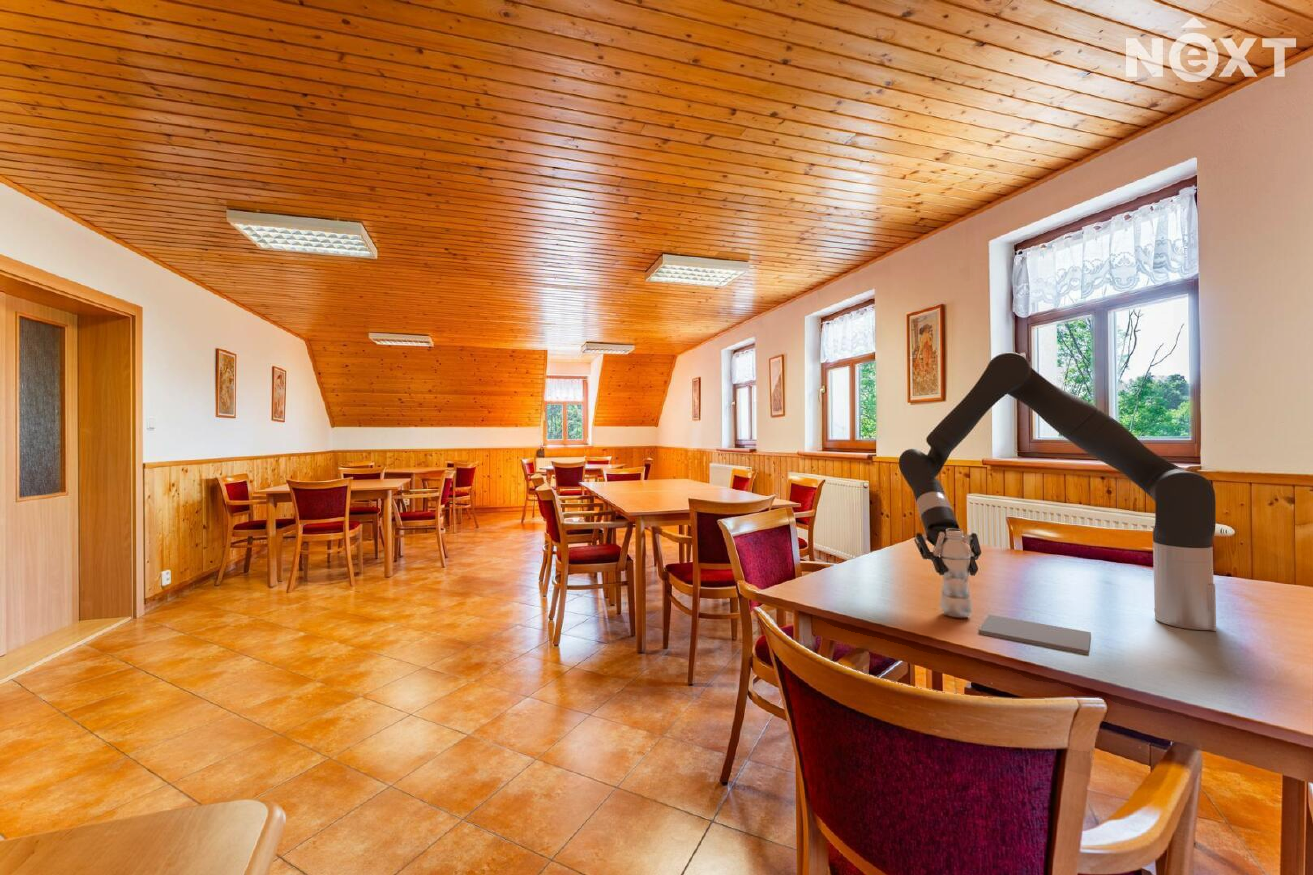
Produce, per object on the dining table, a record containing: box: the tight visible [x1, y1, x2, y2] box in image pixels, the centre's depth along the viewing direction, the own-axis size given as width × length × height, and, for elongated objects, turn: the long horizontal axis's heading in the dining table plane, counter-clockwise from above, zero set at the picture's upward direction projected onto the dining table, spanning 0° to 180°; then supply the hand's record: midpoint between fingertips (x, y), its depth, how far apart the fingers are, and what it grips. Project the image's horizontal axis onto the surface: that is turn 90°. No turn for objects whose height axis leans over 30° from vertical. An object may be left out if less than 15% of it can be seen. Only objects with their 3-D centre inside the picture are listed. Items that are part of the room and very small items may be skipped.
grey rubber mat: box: [978, 614, 1092, 656], centre depth 111 cm, size 18×12×1 cm, turn 49°
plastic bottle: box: [939, 528, 973, 619], centre depth 123 cm, size 6×7×20 cm
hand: (958, 573), depth 121 cm, fingers closed on plastic bottle, 6 cm apart
